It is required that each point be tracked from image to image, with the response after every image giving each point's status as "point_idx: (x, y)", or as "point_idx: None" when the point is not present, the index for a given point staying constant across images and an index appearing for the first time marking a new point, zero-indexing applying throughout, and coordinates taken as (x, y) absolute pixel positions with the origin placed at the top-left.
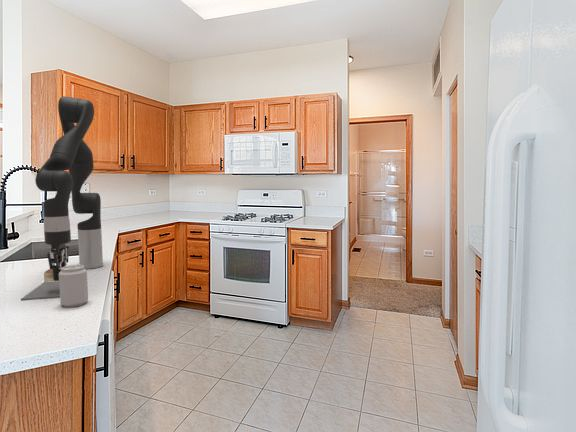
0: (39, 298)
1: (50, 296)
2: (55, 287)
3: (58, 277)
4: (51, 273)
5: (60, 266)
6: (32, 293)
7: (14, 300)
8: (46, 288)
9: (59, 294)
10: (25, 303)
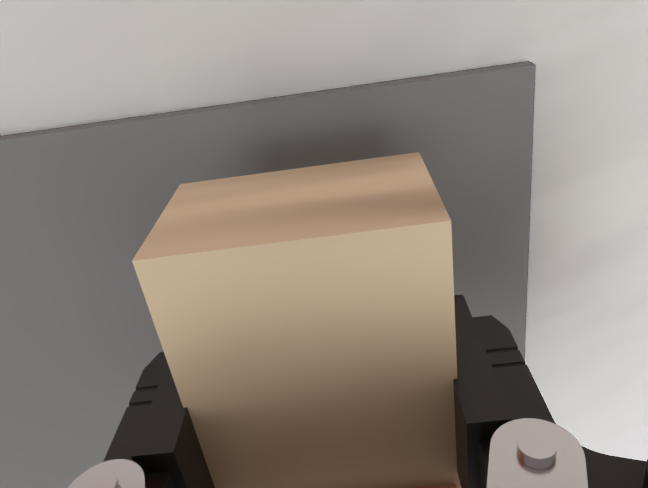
0: (522, 339)
1: (523, 264)
2: None
3: (511, 336)
4: (456, 483)
5: (548, 476)
6: None
7: None
8: None
9: (468, 204)
10: (622, 384)
